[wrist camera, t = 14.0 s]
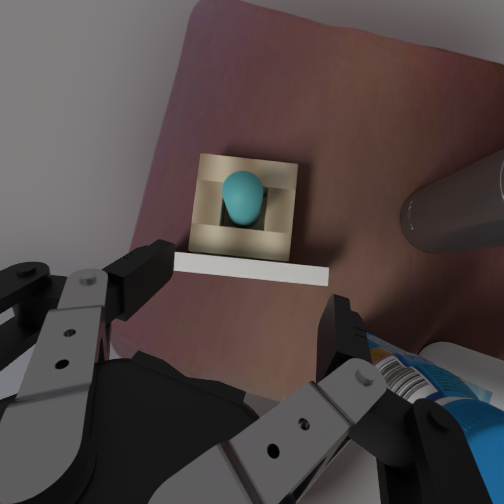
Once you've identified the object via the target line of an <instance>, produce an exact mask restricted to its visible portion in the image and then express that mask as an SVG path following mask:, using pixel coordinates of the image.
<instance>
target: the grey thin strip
mask: <svg viewBox="0 0 504 504" xmlns="http://www.w3.org/2000/svg"><path fill="white" fill-rule="evenodd" d="M419 356H421V357H424V358H426V359H427V360H429V361H431V362H432V363H434V364H435V365H437V366H438V367H440V368H443V369H445V370H447V371H449V372H451V373H452V374H454V375H455V376H457V377H458V378H459V379H461V380H462V381H463V382H464V383H465V384H466V385H467V386H468V387H469V388H470V389H471V390H472V391H473V392H474V393H475V395H476V396H477V397H478V398H479V400H480V401H483V402H486V403H489V404H491V405H493V406H495V407H497V408H499V409H500V410H503V411H504V361H503V360H500V359H497V358H494V357H491V356H488V355H485V354H483V353H480V352H477V351H474V350H471V349H468V348H465V347H462V346H459V345H456V344H453V343H449V342H436V343H432V344H430V345H428V346H426V347H425V348H424V349H423V350H422V351H421V352H420V353H419Z"/></svg>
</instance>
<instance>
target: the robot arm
mask: <svg viewBox="0 0 504 504" xmlns="http://www.w3.org/2000/svg"><path fill="white" fill-rule="evenodd" d="M400 222H401V227H402V231H403V233H404V235H405V237H406V238H407V239H408V240H409V242H410V243H411V244H413V245H414V246H415V247H416V248H418V249H420V250H422V251H425V252H428V253H444V252H454V251H464V250H473V249H483V248H492V247H501V246H504V149H501V150H499V151H497V152H495V153H493V154H491V155H489V156H487V157H485V158H483V159H481V160H479V161H477V162H475V163H473V164H471V165H469V166H467V167H465V168H463V169H461V170H459V171H457V172H455V173H453V174H451V175H449V176H447V177H445V178H443V179H441V180H438V181H436V182H434V183H432V184H430V185H428V186H426V187H424V188H422V189H420V190H418V191H416V192H415V193H413V194H412V195H411V196H410V197H408V198H407V200H406V201H405V203H404V205H403V207H402V210H401V215H400ZM174 259H175V245H174V244H173V243H170V242H167V241H164V240H161V239H159V240H157V241H155V242H154V243H152V244H151V245H149V246H148V245H146V246H142V247H139V248H136V249H134V250H133V251H131V252H129V254H126V255H125V256H123V258H120V259H118V260H116V261H115V262H113V263H111V264H110V265H108V266H106V267H105V268H103V269H102V270H99V269H83V270H79V271H76V272H74V273H72V274H71V275H69V277H65V276H56V275H50V270H49V267H48V265H46V264H44V263H41V262H24V263H19V264H16V265H13V266H10V267H8V268H6V269H4V270H2V271H0V314H1V313H2V312H4V311H6V310H7V309H9V308H11V307H12V308H13V311H14V314H15V316H14V317H13V318H11V319H9V320H8V321H6V322H5V323H3V324H2V325H0V371H1V370H3V369H4V368H5V367H6V366H8V365H9V364H10V363H12V362H13V361H14V360H15V359H16V358H18V357H19V356H20V355H22V354H23V353H24V352H26V351H27V350H28V349H29V348H31V347H32V346H33V345H34V344H36V346H35V349H34V351H33V354H32V357H31V359H30V362H29V365H28V367H27V370H26V373H25V375H24V378H23V381H22V384H21V386H20V389H19V392H18V393H17V394H14V395H12V396H9V397H7V398H4V399H1V400H0V504H296V503H297V502H298V501H299V500H300V499H301V498H302V496H303V495H304V494H305V493H306V492H307V490H308V489H309V488H310V487H311V486H312V484H313V483H314V482H315V481H316V479H317V478H318V477H319V475H320V474H321V473H322V472H323V471H324V470H325V468H326V467H327V466H328V465H329V464H330V463H331V462H332V461H333V459H334V458H335V457H336V456H337V455H338V454H339V453H340V451H341V450H342V449H343V448H344V447H345V446H346V445H347V444H348V442H349V441H350V440H351V439H352V440H353V441H355V442H356V443H357V444H359V445H360V446H361V447H363V448H364V449H365V450H367V451H368V452H369V453H371V454H372V455H373V456H375V457H376V461H377V470H378V480H379V489H380V499H381V504H493V502H492V500H491V497H490V495H489V493H488V490H487V488H486V485H485V483H484V480H483V478H482V476H481V473H480V471H479V468H478V466H477V463H476V461H475V459H474V456H473V454H472V451H471V449H470V446H469V444H468V442H467V439H466V437H465V434H464V432H463V430H462V428H461V426H460V424H459V423H458V421H457V420H456V419H455V418H454V416H453V415H452V414H451V413H450V412H449V411H447V410H446V409H445V408H444V407H442V406H441V405H440V404H438V403H436V402H434V401H432V400H429V399H426V398H419V399H417V400H415V402H414V403H413V404H412V403H410V402H409V401H407V400H406V399H404V398H402V397H401V396H399V395H398V394H396V393H394V392H393V391H391V390H390V389H389V388H388V387H387V384H386V381H385V378H384V377H383V375H382V374H381V372H380V371H379V370H378V369H377V368H376V367H375V366H373V363H372V358H371V353H370V348H369V344H368V340H367V334H366V332H365V331H366V329H365V324H364V321H363V320H362V318H361V317H360V315H359V314H358V313H357V312H354V311H351V308H350V302H349V299H348V298H345V297H342V296H339V295H335V294H332V295H331V296H330V298H329V301H328V303H327V305H326V308H325V310H324V312H323V315H322V317H321V319H320V323H319V326H318V337H317V366H316V383H315V382H314V381H311V382H309V383H307V384H306V385H305V386H303V387H302V388H300V389H299V390H298V391H296V392H295V393H294V394H292V395H291V396H290V397H288V398H287V399H285V400H284V401H283V402H281V403H280V404H279V405H277V406H276V407H275V408H273V409H272V410H270V411H269V412H268V413H266V414H265V415H264V416H262V417H261V418H260V417H259V416H258V415H257V414H256V412H255V411H254V410H253V409H252V408H251V407H250V406H249V405H247V404H246V403H244V402H243V400H244V397H245V393H246V392H245V391H243V390H240V389H237V388H235V387H232V386H229V385H227V384H224V383H222V382H219V381H213V380H205V379H197V378H189V377H186V376H184V375H183V374H182V373H180V372H179V371H177V370H176V369H175V368H173V367H172V366H171V365H169V364H168V363H167V362H165V361H164V360H162V359H159V358H156V357H154V356H151V355H149V354H146V353H143V352H141V351H137V353H136V354H135V355H134V356H133V357H132V358H131V359H130V358H120V359H112V360H109V355H110V354H109V353H110V342H111V329H112V325H111V322H112V321H113V320H114V319H115V318H117V319H120V320H122V321H125V322H126V321H127V320H128V319H129V318H130V317H131V316H132V315H133V314H135V313H136V312H137V311H138V310H139V309H140V308H141V307H142V306H143V305H144V304H145V303H146V302H147V301H148V300H149V299H150V298H151V297H152V296H154V295H155V294H156V293H157V292H158V291H159V290H160V289H161V288H162V287H163V286H164V285H165V284H166V283H167V282H168V281H169V280H170V279H171V277H172V275H173V271H174Z"/></svg>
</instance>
